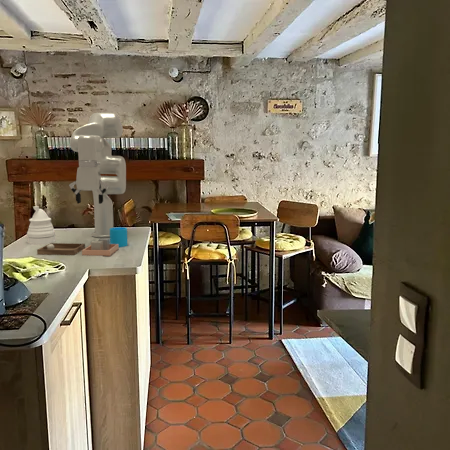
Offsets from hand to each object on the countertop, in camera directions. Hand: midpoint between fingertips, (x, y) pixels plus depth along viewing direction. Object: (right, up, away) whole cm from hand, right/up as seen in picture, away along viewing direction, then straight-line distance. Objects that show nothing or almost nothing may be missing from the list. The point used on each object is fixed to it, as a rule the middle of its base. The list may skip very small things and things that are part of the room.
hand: (89, 203), depth 201 cm
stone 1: (+4, -22, -3) cm, 22 cm away
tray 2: (+5, -22, 0) cm, 23 cm away
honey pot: (-30, -19, +21) cm, 41 cm away
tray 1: (-12, -22, 0) cm, 25 cm away
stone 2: (+6, -21, +3) cm, 22 cm away
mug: (+9, -19, +17) cm, 28 cm away
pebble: (-17, -21, 0) cm, 28 cm away
